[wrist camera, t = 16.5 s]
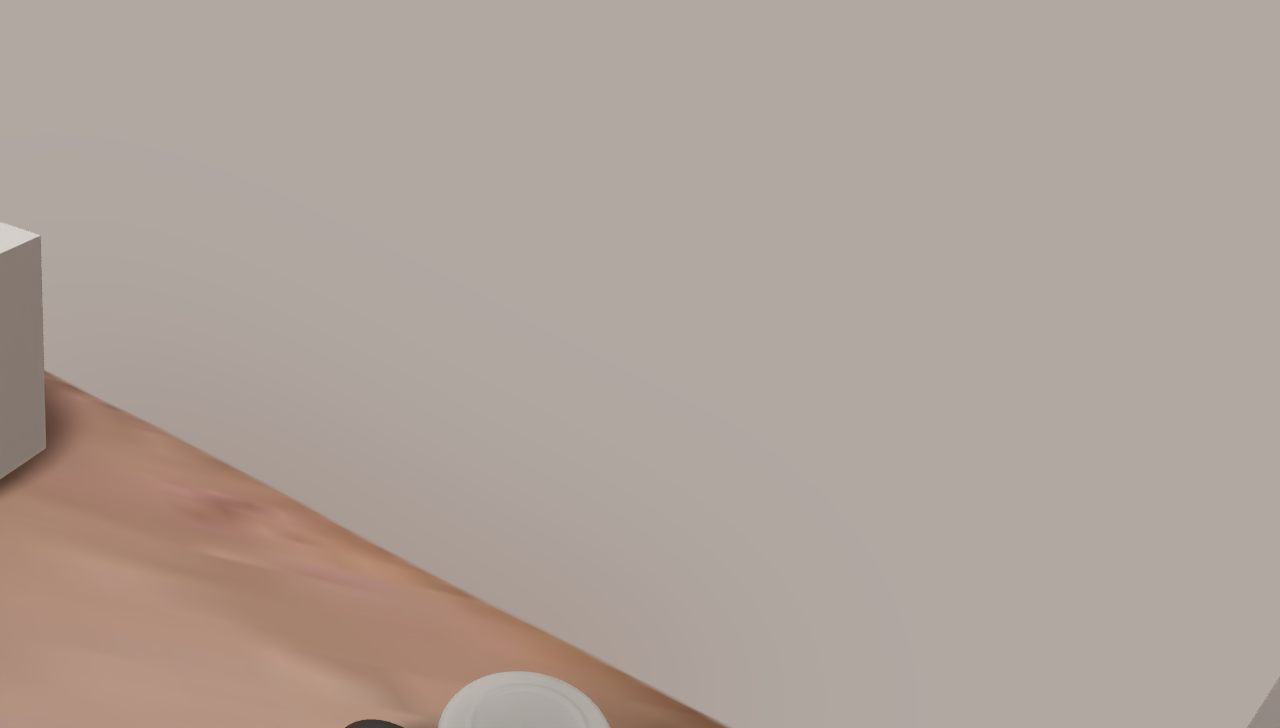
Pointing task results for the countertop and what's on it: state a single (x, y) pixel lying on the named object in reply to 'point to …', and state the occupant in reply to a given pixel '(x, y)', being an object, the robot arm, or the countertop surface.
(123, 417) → the countertop surface
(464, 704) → the spice jar
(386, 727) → the toy chassis
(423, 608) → the countertop surface
